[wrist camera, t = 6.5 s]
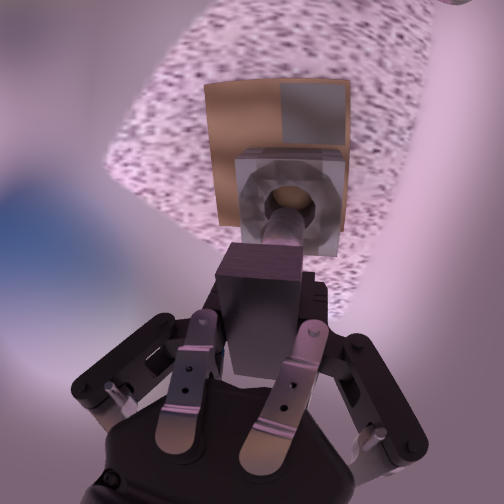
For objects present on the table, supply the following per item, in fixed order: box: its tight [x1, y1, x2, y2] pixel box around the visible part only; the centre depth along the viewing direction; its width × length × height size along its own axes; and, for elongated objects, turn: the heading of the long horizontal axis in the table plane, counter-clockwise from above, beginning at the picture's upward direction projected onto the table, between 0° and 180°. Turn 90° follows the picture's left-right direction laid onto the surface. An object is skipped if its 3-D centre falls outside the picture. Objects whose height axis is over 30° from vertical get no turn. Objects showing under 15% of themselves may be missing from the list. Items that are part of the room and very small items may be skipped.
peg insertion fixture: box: [204, 78, 350, 257], centre depth 25 cm, size 16×14×7 cm
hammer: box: [215, 207, 305, 380], centre depth 17 cm, size 7×3×11 cm, turn 4°
